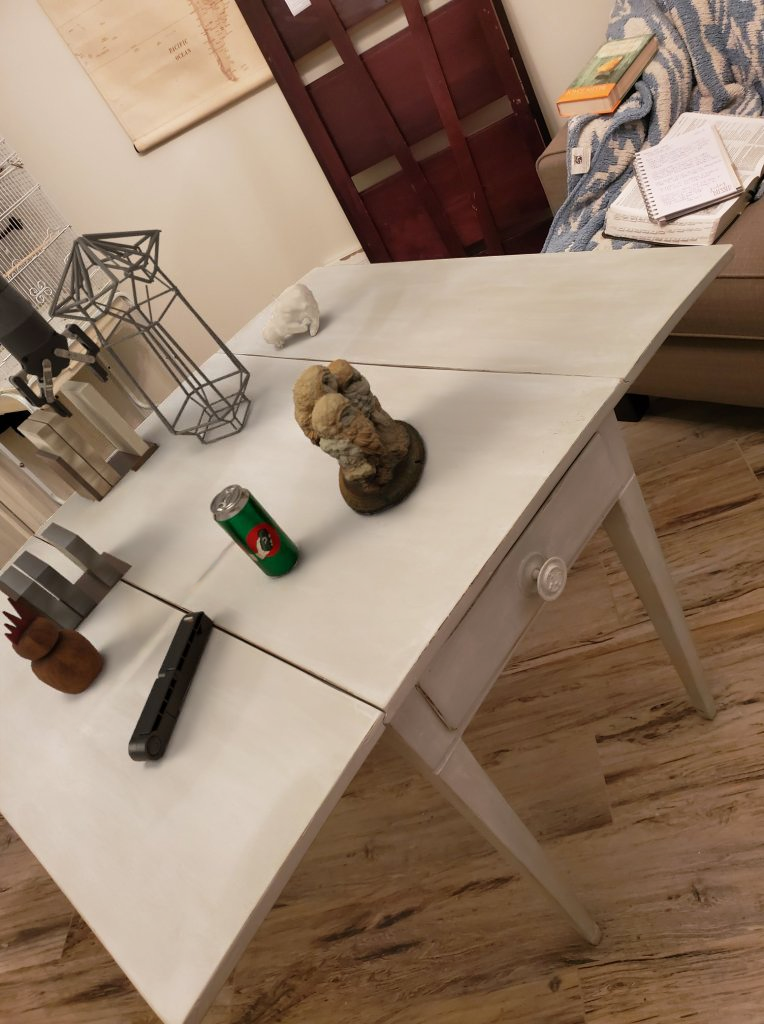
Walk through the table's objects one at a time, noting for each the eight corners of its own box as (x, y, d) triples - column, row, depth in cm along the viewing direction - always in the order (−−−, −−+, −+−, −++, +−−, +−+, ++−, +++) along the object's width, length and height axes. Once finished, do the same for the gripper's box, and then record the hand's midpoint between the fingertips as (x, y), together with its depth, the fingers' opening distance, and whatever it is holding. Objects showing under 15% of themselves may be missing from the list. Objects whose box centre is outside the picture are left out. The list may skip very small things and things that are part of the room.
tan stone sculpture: (436, 496, 83) (366, 384, 72) (346, 537, 85) (267, 434, 75) (416, 410, 96) (355, 306, 86) (339, 447, 99) (271, 351, 89)
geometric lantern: (177, 466, 118) (12, 288, 97) (205, 405, 129) (62, 233, 107) (254, 440, 112) (96, 243, 90) (277, 379, 122) (140, 189, 101)
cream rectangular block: (141, 456, 125) (79, 392, 116) (118, 450, 131) (58, 388, 122) (150, 447, 126) (89, 382, 116) (127, 442, 132) (67, 380, 123)
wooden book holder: (103, 505, 121) (32, 438, 112) (81, 496, 128) (11, 432, 118) (159, 446, 126) (95, 377, 117) (134, 440, 133) (72, 374, 123)
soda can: (307, 544, 88) (251, 478, 81) (293, 578, 85) (233, 513, 78) (274, 548, 91) (218, 484, 83) (260, 581, 88) (199, 518, 80)
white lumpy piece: (300, 288, 120) (244, 325, 124) (330, 326, 125) (275, 361, 129) (301, 272, 125) (247, 309, 129) (329, 310, 130) (277, 344, 134)
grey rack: (71, 643, 98) (15, 602, 92) (45, 623, 105) (-9, 583, 99) (137, 569, 103) (87, 525, 97) (108, 555, 109) (60, 512, 103)
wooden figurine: (103, 648, 94) (14, 580, 85) (119, 666, 90) (27, 597, 80) (63, 689, 92) (-32, 625, 83) (78, 710, 88) (-21, 644, 78)
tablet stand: (159, 765, 75) (140, 753, 73) (141, 766, 76) (122, 753, 74) (216, 621, 87) (200, 607, 85) (199, 623, 88) (184, 609, 86)
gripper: (38, 292, 116) (107, 369, 126) (-30, 351, 111) (48, 426, 121) (55, 290, 111) (126, 370, 121) (-15, 352, 106) (65, 430, 116)
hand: (87, 398), depth 121 cm, fingers open, 8 cm apart
